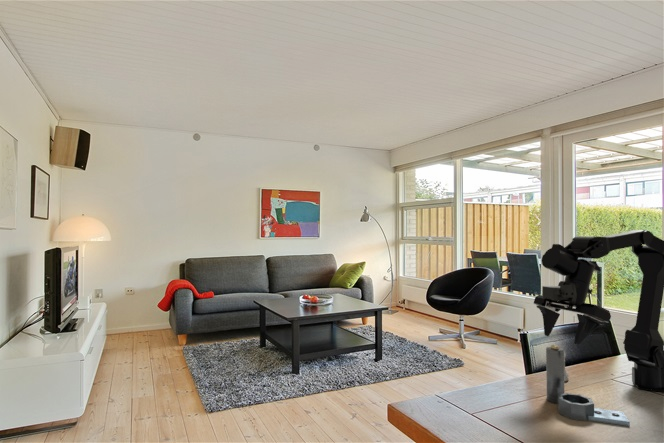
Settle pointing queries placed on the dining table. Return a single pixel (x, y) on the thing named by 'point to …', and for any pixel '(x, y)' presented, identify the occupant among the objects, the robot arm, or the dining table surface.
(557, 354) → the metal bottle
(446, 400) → the dining table surface
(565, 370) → the rook chess piece
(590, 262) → the robot arm
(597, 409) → the hinge leaf
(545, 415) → the dining table surface
